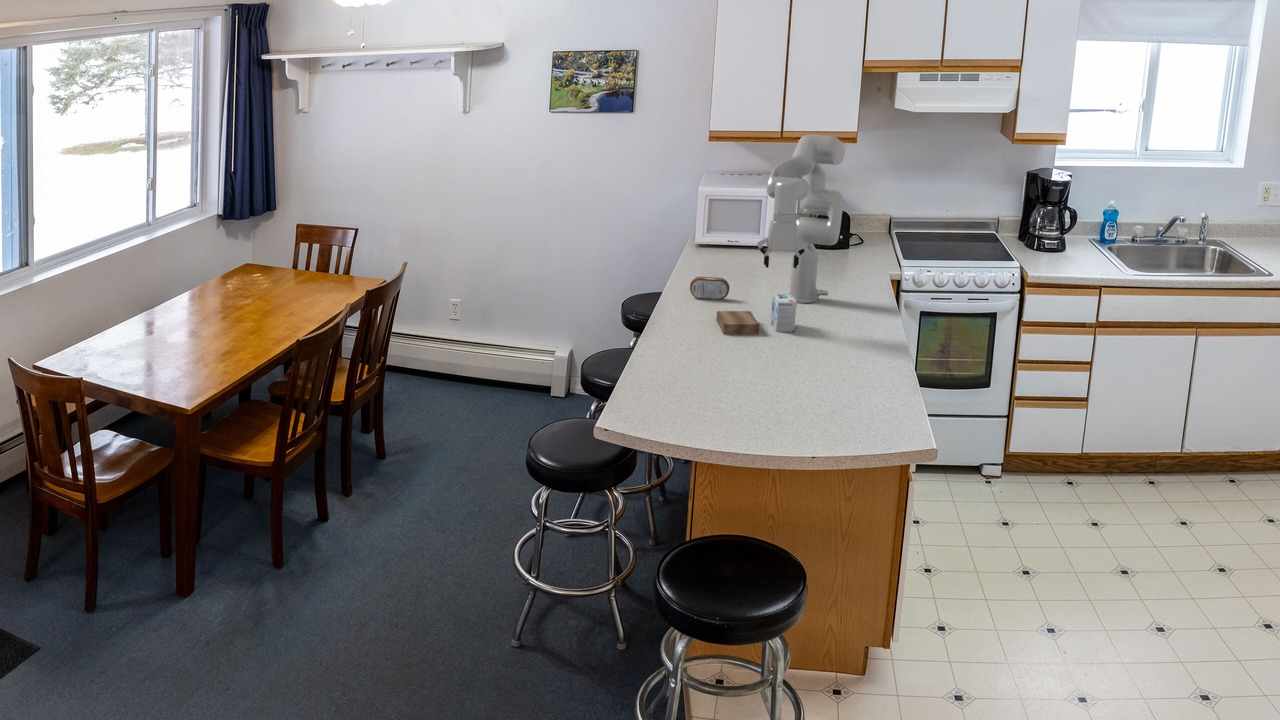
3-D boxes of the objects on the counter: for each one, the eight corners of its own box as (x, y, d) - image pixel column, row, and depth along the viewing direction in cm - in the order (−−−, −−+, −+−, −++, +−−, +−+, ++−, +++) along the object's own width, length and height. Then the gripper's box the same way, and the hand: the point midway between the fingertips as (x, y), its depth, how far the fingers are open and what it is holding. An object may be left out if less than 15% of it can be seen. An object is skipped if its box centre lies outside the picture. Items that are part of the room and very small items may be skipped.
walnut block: (749, 321, 368) (750, 311, 367) (758, 335, 353) (759, 324, 352) (716, 322, 367) (716, 311, 366) (723, 335, 352) (724, 324, 351)
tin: (728, 298, 395) (730, 277, 392) (728, 301, 392) (729, 279, 390) (689, 296, 397) (690, 275, 394) (689, 299, 394) (690, 277, 391)
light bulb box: (769, 323, 366) (771, 293, 362) (788, 323, 366) (790, 293, 363) (775, 332, 356) (778, 301, 352) (795, 332, 356) (797, 302, 353)
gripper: (808, 216, 354) (804, 265, 359) (757, 215, 354) (754, 264, 359) (811, 220, 347) (807, 270, 352) (760, 219, 347) (757, 269, 352)
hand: (780, 267), depth 356 cm, fingers open, 9 cm apart
